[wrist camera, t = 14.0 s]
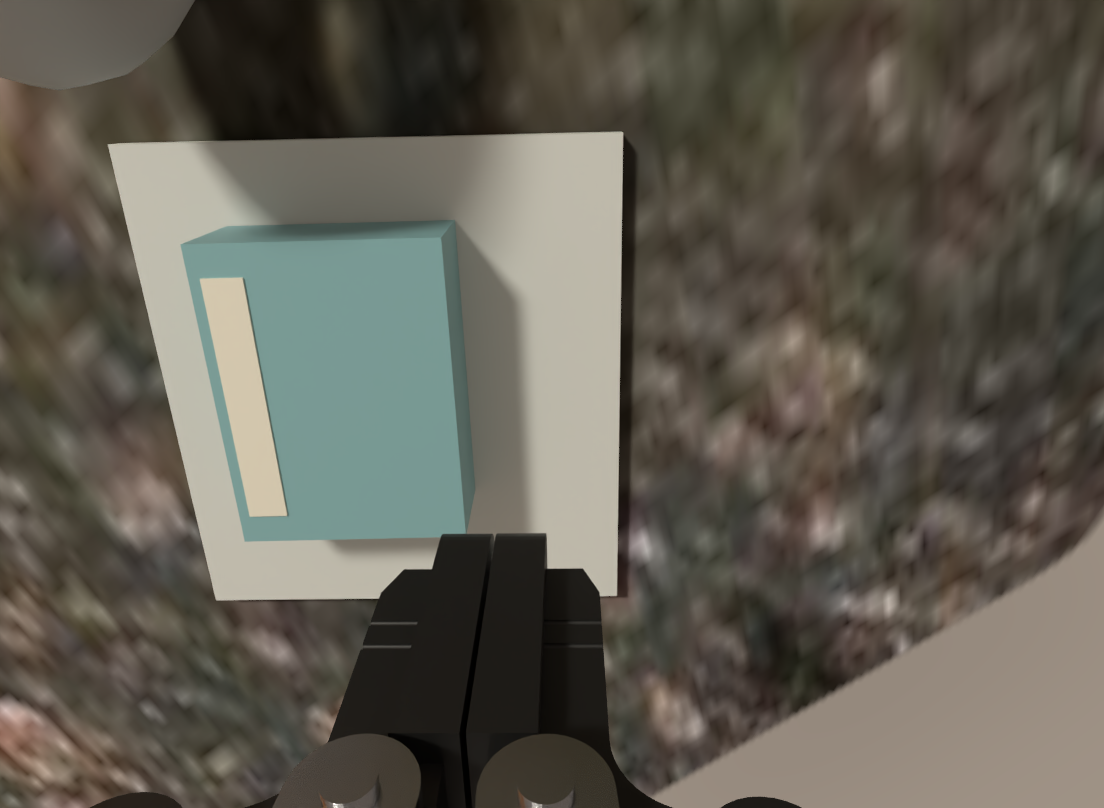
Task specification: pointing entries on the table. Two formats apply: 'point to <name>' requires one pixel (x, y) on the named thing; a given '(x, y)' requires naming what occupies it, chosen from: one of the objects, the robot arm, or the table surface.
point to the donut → (82, 38)
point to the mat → (488, 324)
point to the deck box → (338, 376)
